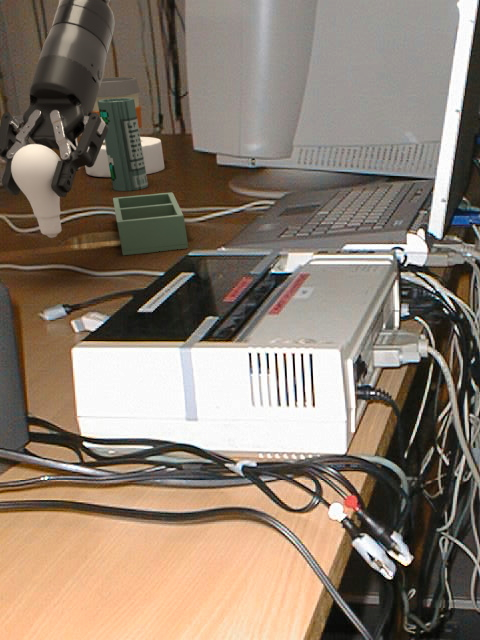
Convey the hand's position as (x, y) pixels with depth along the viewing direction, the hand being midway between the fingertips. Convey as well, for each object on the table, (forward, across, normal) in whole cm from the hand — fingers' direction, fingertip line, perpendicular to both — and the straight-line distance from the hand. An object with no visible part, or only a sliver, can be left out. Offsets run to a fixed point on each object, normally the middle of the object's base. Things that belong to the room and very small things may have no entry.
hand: (34, 192), depth 109 cm
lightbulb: (+3, 0, +5) cm, 6 cm away
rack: (-9, 0, +25) cm, 27 cm away
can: (-33, -23, +50) cm, 64 cm away
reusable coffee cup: (-59, -47, +76) cm, 107 cm away
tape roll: (-45, -34, +61) cm, 83 cm away
